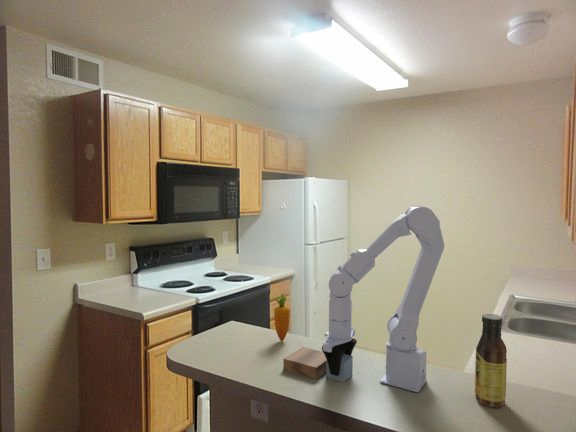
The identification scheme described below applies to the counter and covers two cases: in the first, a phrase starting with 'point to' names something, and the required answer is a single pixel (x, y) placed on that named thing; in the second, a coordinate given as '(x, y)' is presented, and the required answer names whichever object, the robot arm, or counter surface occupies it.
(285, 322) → the carrot
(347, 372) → the slate-blue cube
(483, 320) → the sauce bottle
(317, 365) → the walnut base
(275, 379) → the counter surface
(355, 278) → the robot arm
